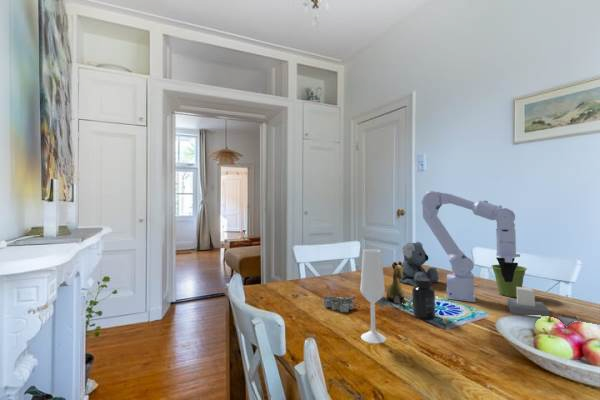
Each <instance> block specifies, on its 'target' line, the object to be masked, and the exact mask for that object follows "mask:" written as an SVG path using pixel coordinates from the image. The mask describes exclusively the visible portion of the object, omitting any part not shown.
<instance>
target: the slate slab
mask: <svg viewBox="0 0 600 400" xmlns="http://www.w3.org/2000/svg"><path fill="white" fill-rule="evenodd" d="M506 298H507V297H506ZM506 303H507V304H506V305H507V308H508V310H509V312H510V314H512V315H518V316H524V315H541V316H550V310H549V309H548V308H547V306H546V305H545V304H544V302H543V301H535V307H532V306H525V305H518V303H517V298H512V297H511V298H510V297H508V298H507V301H506Z"/></svg>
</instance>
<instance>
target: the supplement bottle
mask: <svg viewBox="0 0 600 400" xmlns="http://www.w3.org/2000/svg"><path fill="white" fill-rule="evenodd" d="M415 285H416V286H413V287H412V289H411V293H412V295H411V296H412V298H413V301H412V303H413V304H412V313H413V315H414V317H415V318H417V319H422V320H432V318H433V319H435V318H436V298H435V297H436V296H435V295H436V294H435V290H434V289H433V287H432V283H431V280H430V279H427V278H416V279H415Z"/></svg>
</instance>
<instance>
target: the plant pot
mask: <svg viewBox="0 0 600 400" xmlns="http://www.w3.org/2000/svg"><path fill="white" fill-rule="evenodd" d="M491 268H492V270H493V273H494V276H495V281H496V286H497V289H498V294H499V295H503V296H505V297H508V298H510V297H511V298H517V290H516V287H523V285H524V284H523V283H524V279H525V278H524V276H525V273H526V271H527V270H528V268H527V267H525V266H521V265H518V266H517V267H516V269H515V271H514V276H513V280H512V282H505V281H504V278H503V277H502V273H501V269H500V265H499V264H492V265H491Z"/></svg>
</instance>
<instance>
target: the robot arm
mask: <svg viewBox="0 0 600 400" xmlns="http://www.w3.org/2000/svg"><path fill="white" fill-rule="evenodd" d="M448 204H450V205H453V206H454V205H455V206H458V207H461V208H465V209H468V210H471V211H472V213H473V214H474V215H475V216H478V217H481V218H484V219H487V220H489V221H496V229H495V231H496V232H495V233H496V235H495V236H496V239H495V241H496V253H495V256H496V257H495V259H496V260H497V262H498V265H500V269H501V273H502V277H503V278H504V281H505V282H512V280H513V276H514V271H515V269H516V267H517V266H519V263H518V262H515V258H520V257H521V254H518V253H517V245H516V244H517V243H516V241H517V240H516V229H515V227H516V223H515V220H516V215H515V213H514V211H513V210H512V209H509V208H508V207H507V208H506V207H504V208H503V206H502V205H496V204H492V203H490V202H489V201H488V200H478V201H476V202H475V201H471V200H469V199H466V198H462V197H461V196H457V195H454V194H451V193H447V192H445V193H444V192H440V191H434V190H429V191H427V192H425V193H424V194H423V197H422V199H421V205H422V218H423V220H424V222H425V223H426V225H428V227H429V229H430V230H431V232H432V234H433V235H434V236H435V238H436V240H437V241H438V243H439V244H440V245H441V248H442V249H443V250H444V252H445V253H446V256H447V258H448V262H449V263H450V265H451V266H450V267H451V270H452V273H451V274H450V273H448V274H446V295H447V296H446V299H448V300H455V301H463V302H471V303H475V302H476V295H475V285H474V284H475V283H474V281H475V277H474V274H473V273H472V271H473V269H474V261H473V260H472V259H471V258H470V257H468V256H466V254H465V253H464V252H463V251H462V250H461V249H460V248H459V246H458V245H457V243H456V241H455V240H454V239H453V237H452V235H450V233H449V231H448V230H447V228H446V227H445V225H444V224H443V223H442V221H441V219H440V218H439V216H438V214H439V210H440V208H441V207H442V206H443V205H448Z"/></svg>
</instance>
